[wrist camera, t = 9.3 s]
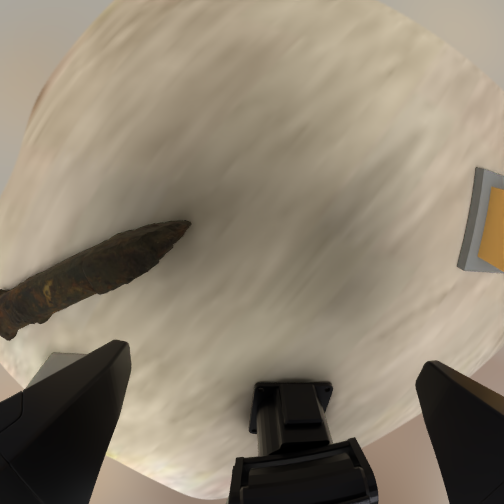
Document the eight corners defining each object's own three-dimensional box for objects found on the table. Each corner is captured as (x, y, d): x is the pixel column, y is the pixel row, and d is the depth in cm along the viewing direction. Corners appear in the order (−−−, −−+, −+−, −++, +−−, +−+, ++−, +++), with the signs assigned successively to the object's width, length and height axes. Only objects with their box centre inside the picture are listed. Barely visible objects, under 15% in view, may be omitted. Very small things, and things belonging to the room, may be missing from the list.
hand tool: (24, 324, 21) (-3, 352, 17) (3, 286, 20) (-28, 309, 16) (207, 259, 20) (198, 290, 15) (184, 202, 19) (167, 217, 14)
